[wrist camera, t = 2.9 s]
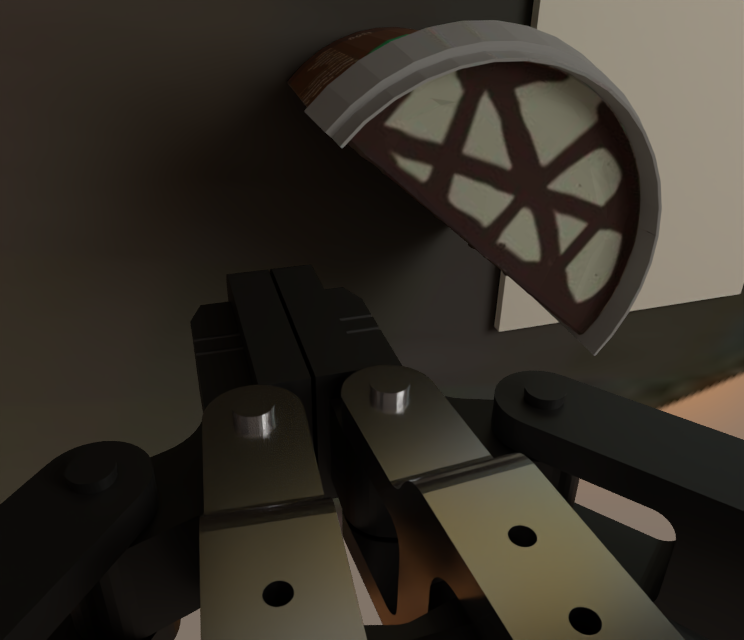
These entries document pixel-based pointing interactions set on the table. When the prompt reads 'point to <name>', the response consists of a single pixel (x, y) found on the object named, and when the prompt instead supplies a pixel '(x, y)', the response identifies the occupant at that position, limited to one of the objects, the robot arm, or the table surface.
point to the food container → (504, 154)
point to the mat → (668, 135)
